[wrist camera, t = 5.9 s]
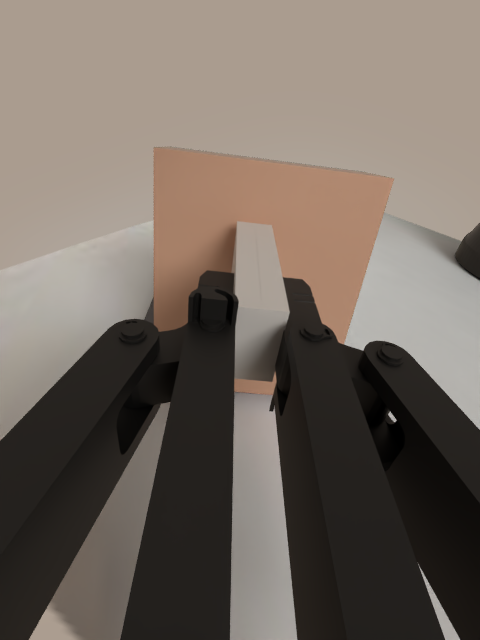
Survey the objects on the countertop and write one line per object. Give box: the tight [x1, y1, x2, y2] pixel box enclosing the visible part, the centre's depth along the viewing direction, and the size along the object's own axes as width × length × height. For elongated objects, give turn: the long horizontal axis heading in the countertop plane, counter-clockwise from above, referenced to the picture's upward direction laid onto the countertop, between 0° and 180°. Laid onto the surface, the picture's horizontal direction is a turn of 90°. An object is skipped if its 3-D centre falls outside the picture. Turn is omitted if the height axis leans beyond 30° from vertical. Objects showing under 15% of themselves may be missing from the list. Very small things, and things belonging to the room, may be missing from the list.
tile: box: [154, 147, 394, 395], centre depth 18 cm, size 4×10×12 cm, turn 90°
